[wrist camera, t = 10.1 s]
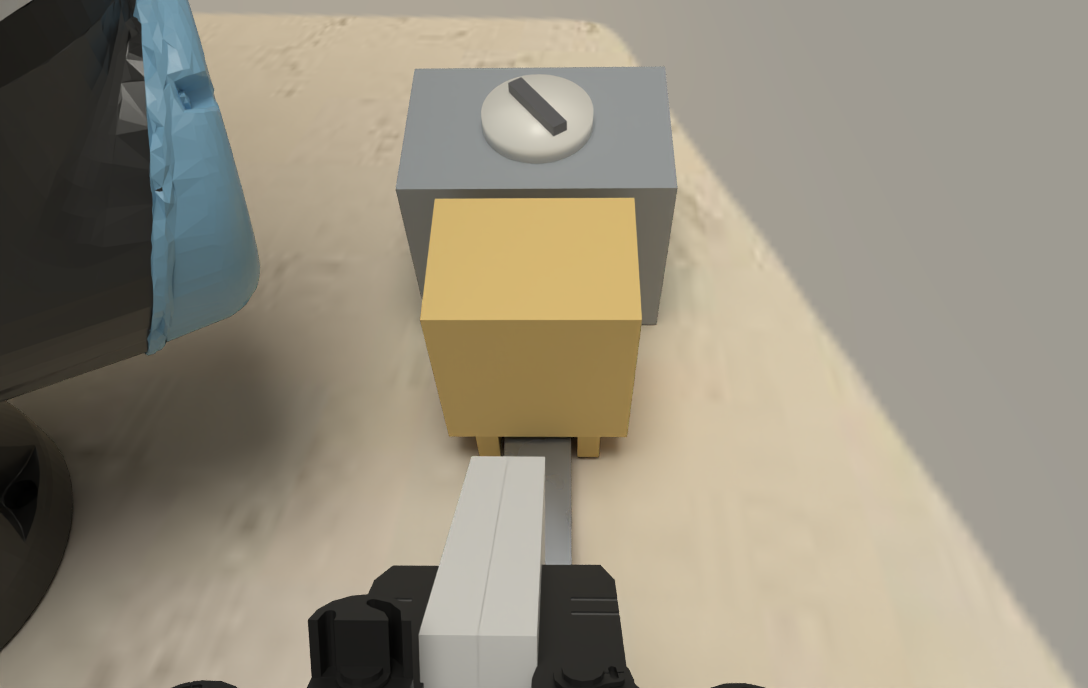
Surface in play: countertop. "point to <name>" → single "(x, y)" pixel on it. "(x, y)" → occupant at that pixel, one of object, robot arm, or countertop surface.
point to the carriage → (533, 317)
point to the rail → (551, 490)
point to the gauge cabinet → (542, 149)
